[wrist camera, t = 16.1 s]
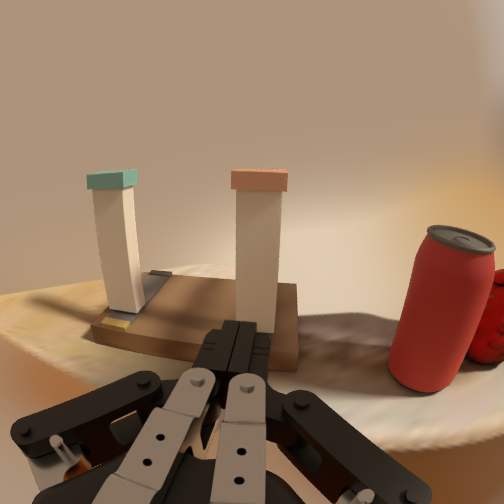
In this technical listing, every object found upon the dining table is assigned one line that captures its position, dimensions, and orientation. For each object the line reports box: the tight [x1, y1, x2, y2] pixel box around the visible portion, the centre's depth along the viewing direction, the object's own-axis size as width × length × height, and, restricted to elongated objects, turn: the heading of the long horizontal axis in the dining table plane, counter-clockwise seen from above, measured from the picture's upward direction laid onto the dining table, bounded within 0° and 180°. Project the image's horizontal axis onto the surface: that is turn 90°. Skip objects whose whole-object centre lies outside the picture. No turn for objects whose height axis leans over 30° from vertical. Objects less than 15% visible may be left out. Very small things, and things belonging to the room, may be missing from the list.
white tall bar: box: [231, 168, 288, 333], centre depth 22 cm, size 4×2×12 cm, turn 84°
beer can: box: [388, 225, 496, 392], centre depth 19 cm, size 7×7×12 cm
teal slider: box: [87, 169, 145, 313], centre depth 24 cm, size 4×2×12 cm, turn 83°
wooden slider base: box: [91, 270, 299, 372], centre depth 28 cm, size 18×12×2 cm, turn 83°
